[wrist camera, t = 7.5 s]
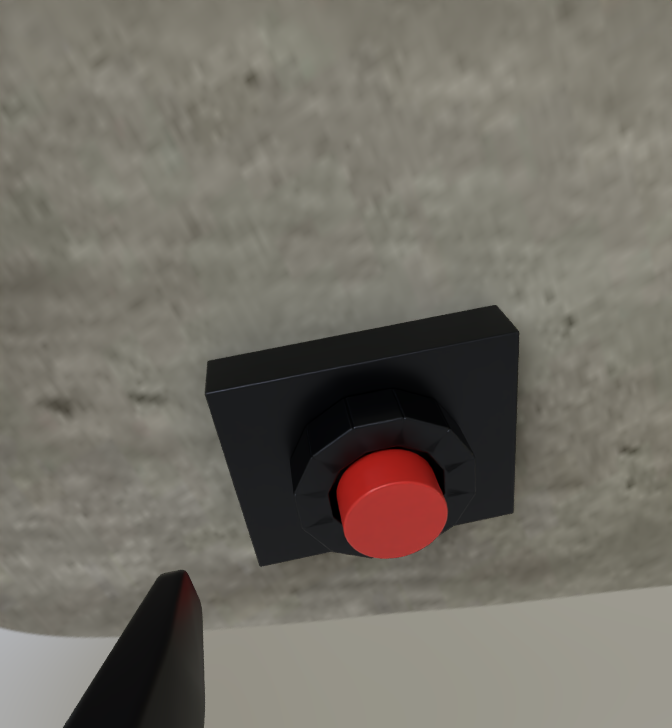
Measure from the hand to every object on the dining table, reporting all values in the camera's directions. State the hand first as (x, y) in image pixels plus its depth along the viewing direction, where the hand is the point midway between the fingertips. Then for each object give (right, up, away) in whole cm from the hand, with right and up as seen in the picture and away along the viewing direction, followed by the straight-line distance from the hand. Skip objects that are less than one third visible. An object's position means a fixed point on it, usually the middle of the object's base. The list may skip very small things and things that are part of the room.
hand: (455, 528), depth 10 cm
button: (0, -2, +11) cm, 12 cm away
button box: (-1, 0, +15) cm, 15 cm away
